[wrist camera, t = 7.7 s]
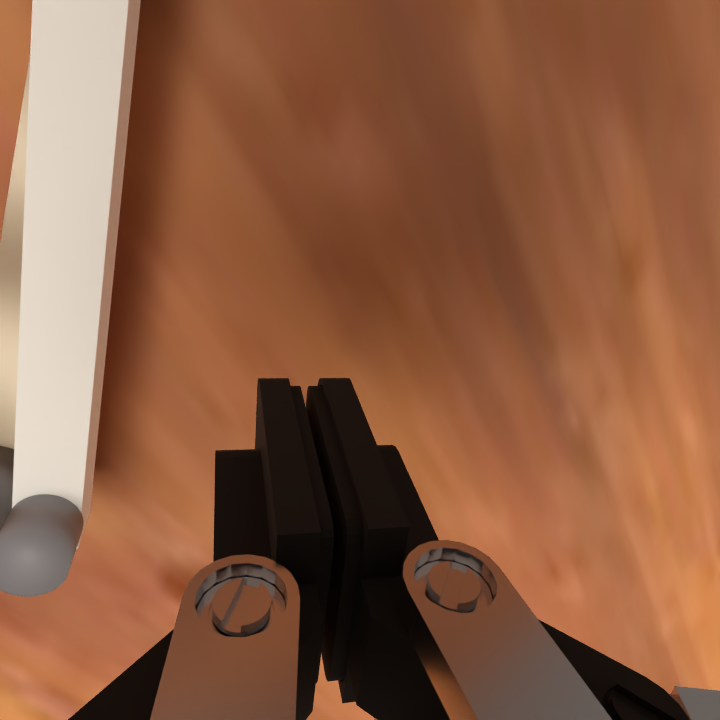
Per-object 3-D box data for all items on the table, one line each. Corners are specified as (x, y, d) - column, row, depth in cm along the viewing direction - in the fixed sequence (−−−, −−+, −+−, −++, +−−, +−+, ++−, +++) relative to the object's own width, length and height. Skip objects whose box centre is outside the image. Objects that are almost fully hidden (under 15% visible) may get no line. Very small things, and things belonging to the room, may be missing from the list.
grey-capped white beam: (78, -243, 15) (-4, -438, 9) (196, -179, 16) (183, -323, 10) (-34, 459, 22) (-118, 577, 16) (54, 473, 22) (1, 589, 17)
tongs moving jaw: (56, -98, 14) (-1, -166, 10) (151, -66, 15) (128, -120, 11) (25, 508, 20) (-17, 595, 17) (93, 513, 21) (66, 597, 17)
